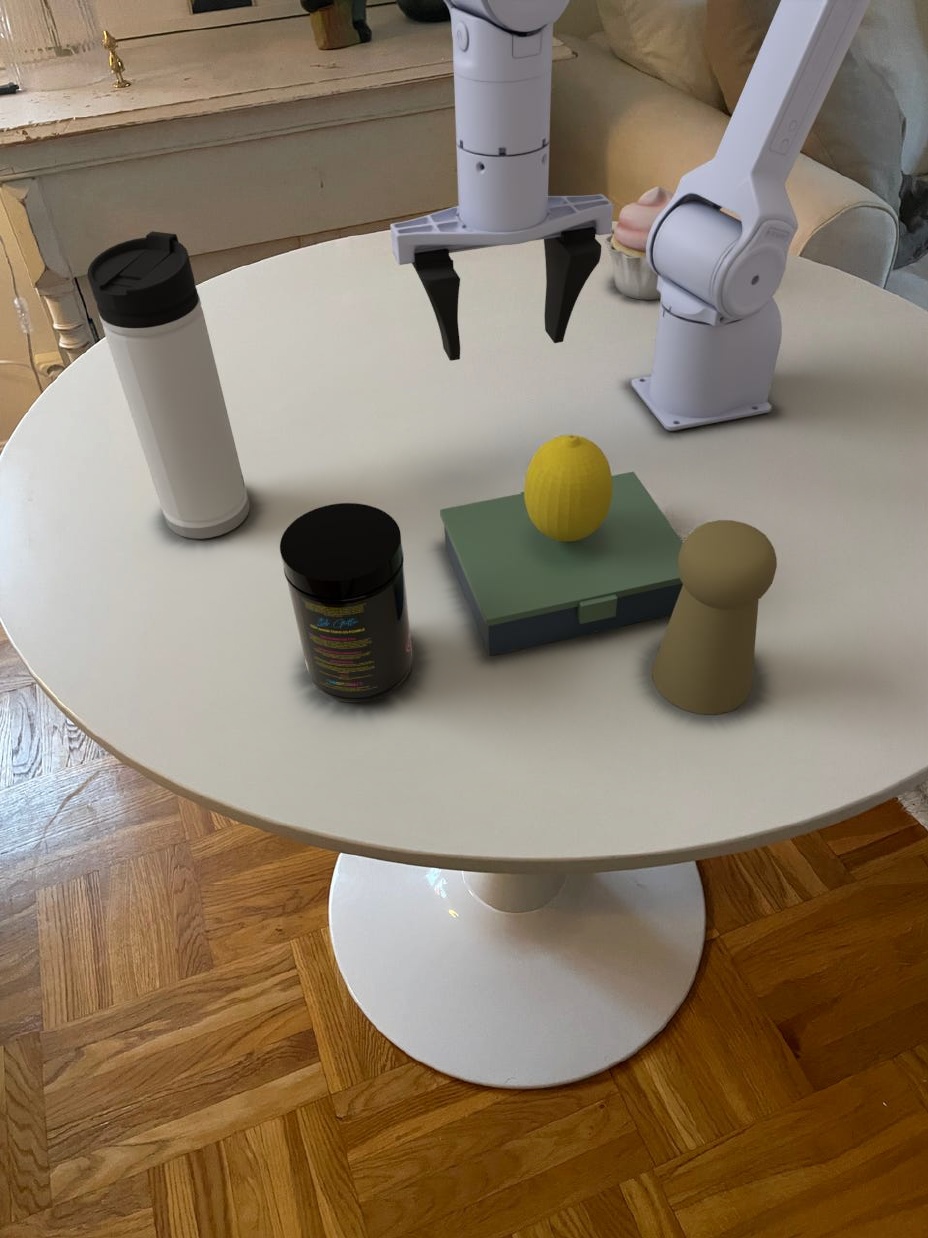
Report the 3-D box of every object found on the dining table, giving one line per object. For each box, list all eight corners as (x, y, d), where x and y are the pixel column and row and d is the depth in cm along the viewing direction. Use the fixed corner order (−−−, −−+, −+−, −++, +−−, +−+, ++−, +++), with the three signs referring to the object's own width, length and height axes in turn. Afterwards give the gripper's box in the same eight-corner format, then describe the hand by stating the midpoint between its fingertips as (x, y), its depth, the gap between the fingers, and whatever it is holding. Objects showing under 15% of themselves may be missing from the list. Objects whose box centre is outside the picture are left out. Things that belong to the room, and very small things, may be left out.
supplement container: (424, 695, 57) (412, 567, 50) (315, 718, 56) (286, 591, 49) (403, 620, 62) (389, 493, 54) (301, 640, 61) (273, 514, 53)
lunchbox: (627, 506, 69) (631, 467, 67) (699, 615, 61) (707, 576, 59) (440, 544, 67) (438, 505, 65) (488, 663, 59) (488, 624, 56)
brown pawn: (642, 645, 59) (662, 508, 52) (735, 637, 59) (769, 499, 52) (664, 718, 55) (690, 581, 47) (765, 710, 55) (807, 571, 47)
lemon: (614, 563, 60) (625, 460, 54) (528, 569, 60) (530, 466, 54) (600, 510, 64) (609, 408, 58) (519, 515, 63) (520, 414, 58)
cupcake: (598, 307, 92) (606, 203, 85) (601, 266, 99) (609, 167, 92) (695, 310, 91) (710, 205, 84) (691, 268, 98) (706, 168, 90)
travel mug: (267, 494, 72) (209, 235, 58) (224, 547, 68) (150, 281, 53) (196, 480, 73) (123, 225, 59) (150, 531, 69) (60, 269, 55)
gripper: (590, 107, 61) (579, 304, 70) (373, 134, 58) (392, 334, 68) (633, 141, 56) (614, 348, 65) (398, 172, 53) (414, 382, 63)
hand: (503, 344), depth 66 cm, fingers open, 7 cm apart
